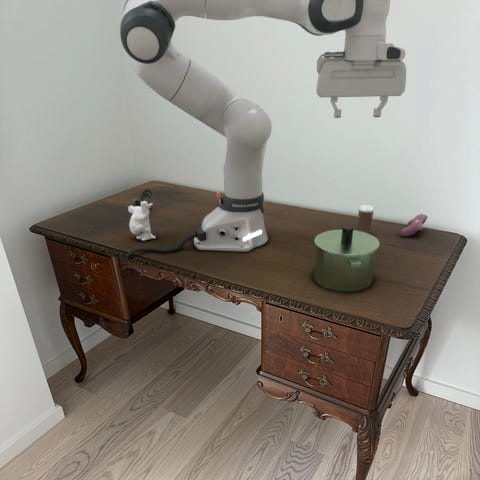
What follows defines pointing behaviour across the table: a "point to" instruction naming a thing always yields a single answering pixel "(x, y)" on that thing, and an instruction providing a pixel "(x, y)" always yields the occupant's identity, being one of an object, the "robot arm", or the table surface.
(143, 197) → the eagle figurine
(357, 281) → the pot
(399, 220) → the table surface
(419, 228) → the video game controller
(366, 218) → the milkshake
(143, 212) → the koala figurine
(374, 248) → the lid
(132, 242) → the table surface
